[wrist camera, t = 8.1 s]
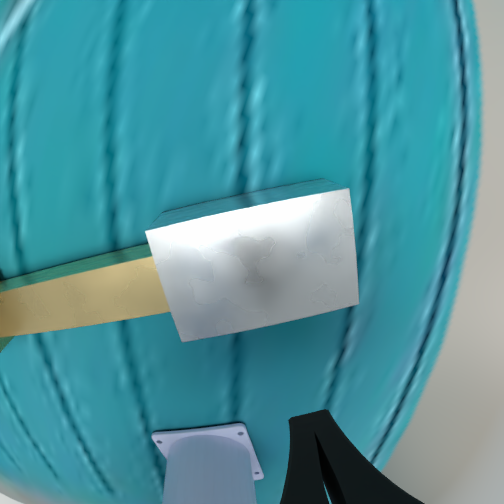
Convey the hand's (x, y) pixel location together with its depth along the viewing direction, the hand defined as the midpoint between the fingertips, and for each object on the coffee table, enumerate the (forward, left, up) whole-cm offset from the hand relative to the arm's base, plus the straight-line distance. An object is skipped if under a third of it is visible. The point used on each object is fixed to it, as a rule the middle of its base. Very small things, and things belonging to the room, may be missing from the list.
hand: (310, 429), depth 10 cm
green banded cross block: (+4, +15, -10) cm, 18 cm away
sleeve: (+4, +1, -10) cm, 11 cm away
